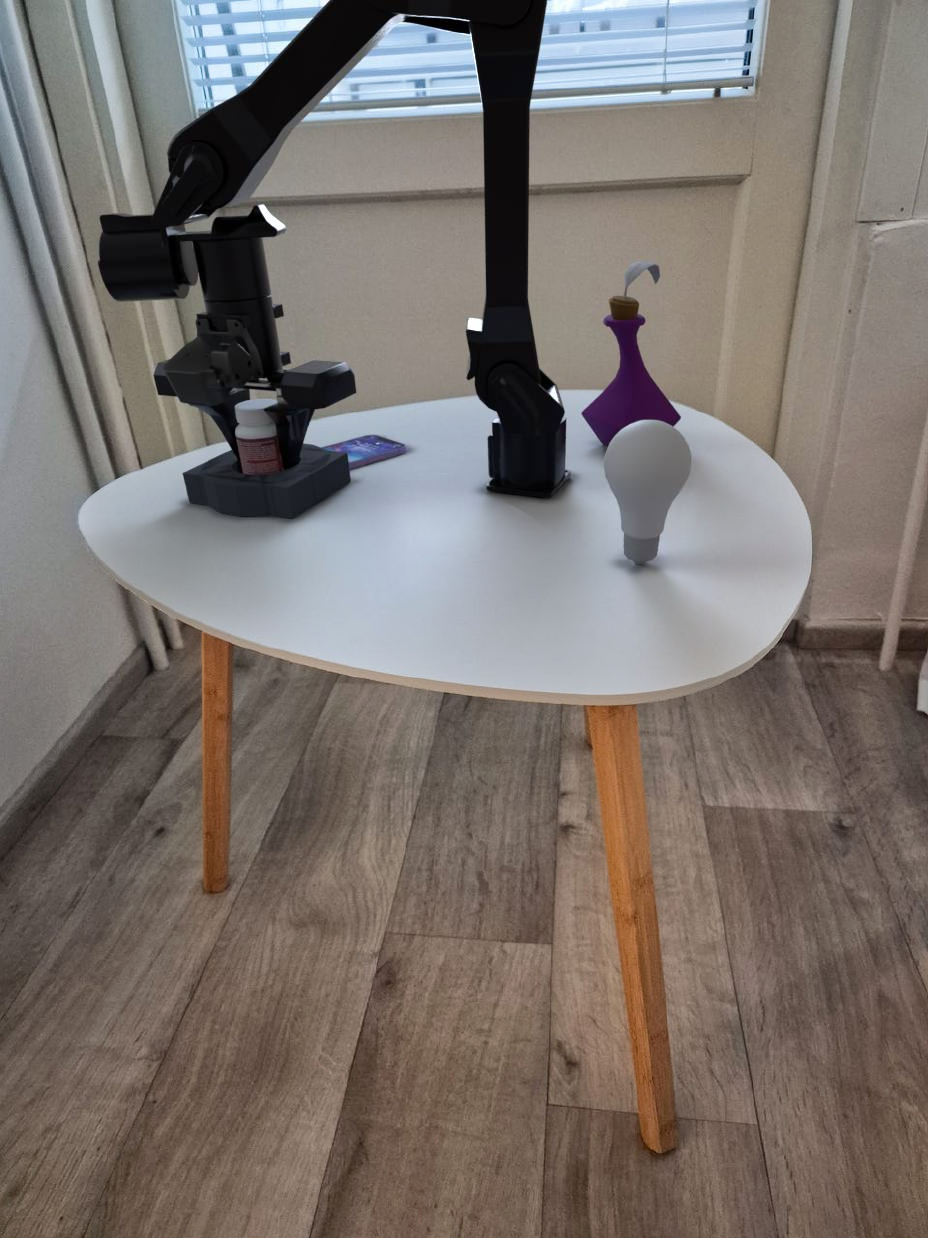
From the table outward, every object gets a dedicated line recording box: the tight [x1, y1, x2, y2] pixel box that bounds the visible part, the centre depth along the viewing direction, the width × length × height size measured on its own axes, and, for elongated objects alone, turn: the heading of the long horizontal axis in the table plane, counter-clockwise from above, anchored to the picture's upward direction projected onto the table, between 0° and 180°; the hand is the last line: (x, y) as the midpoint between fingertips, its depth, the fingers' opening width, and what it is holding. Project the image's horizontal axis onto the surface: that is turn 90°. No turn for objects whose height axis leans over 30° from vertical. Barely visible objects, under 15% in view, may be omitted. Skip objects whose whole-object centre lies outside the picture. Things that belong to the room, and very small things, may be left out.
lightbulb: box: [603, 420, 692, 565], centre depth 58 cm, size 6×6×11 cm
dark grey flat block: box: [182, 442, 352, 520], centre depth 77 cm, size 12×12×3 cm
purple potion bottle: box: [580, 261, 682, 447], centre depth 80 cm, size 8×8×18 cm
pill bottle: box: [235, 398, 284, 475], centre depth 75 cm, size 5×5×8 cm
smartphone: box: [321, 434, 407, 470], centre depth 85 cm, size 7×1×15 cm
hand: (268, 469), depth 76 cm, fingers closed on pill bottle, 5 cm apart
